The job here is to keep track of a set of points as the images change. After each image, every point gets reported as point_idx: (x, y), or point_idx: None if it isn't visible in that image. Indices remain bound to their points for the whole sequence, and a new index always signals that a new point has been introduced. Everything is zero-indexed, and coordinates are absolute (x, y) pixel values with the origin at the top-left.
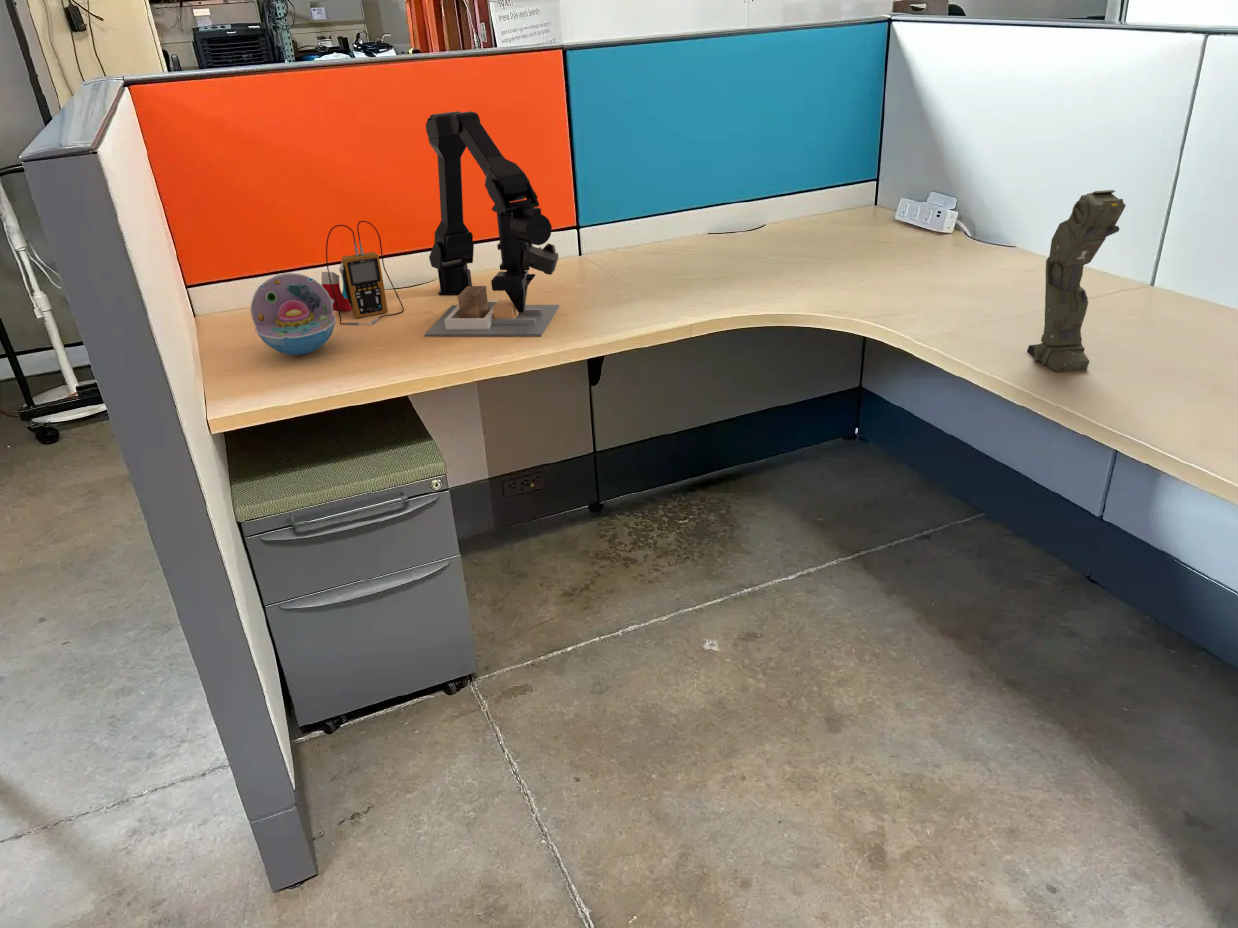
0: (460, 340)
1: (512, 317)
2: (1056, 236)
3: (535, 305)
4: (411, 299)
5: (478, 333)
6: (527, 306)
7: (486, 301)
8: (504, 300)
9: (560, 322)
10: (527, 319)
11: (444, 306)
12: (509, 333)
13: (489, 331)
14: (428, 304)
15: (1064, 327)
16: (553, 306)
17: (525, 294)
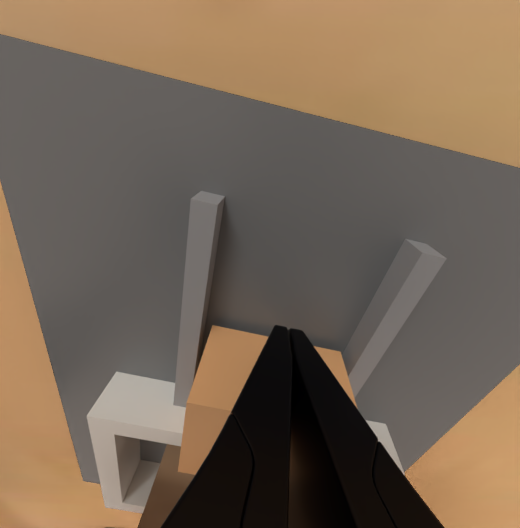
0: (430, 470)
1: (343, 370)
2: None
3: (29, 230)
4: (32, 517)
5: (422, 447)
6: (59, 276)
7: (171, 491)
8: (193, 455)
9: (416, 22)
10: (417, 300)
11: (78, 482)
12: (508, 365)
13: (419, 422)
14: (66, 501)
15: None
16: (25, 86)
17: (286, 444)
